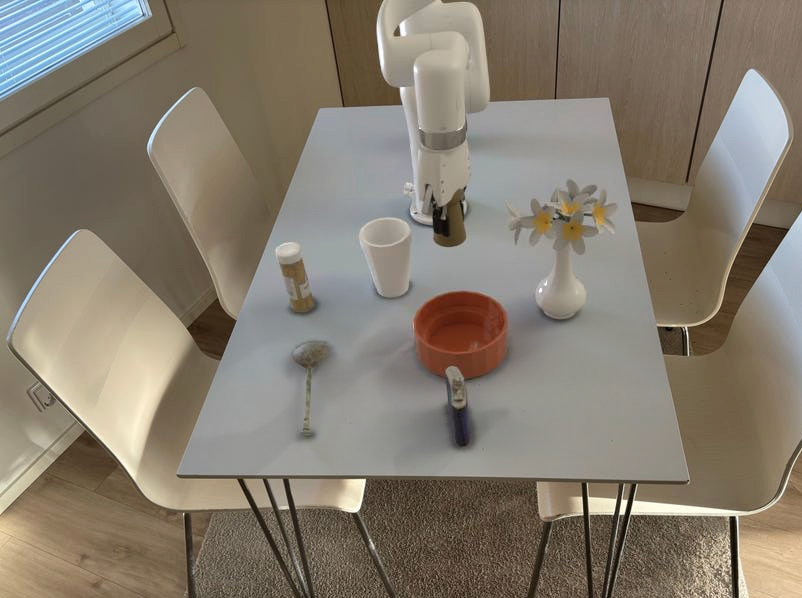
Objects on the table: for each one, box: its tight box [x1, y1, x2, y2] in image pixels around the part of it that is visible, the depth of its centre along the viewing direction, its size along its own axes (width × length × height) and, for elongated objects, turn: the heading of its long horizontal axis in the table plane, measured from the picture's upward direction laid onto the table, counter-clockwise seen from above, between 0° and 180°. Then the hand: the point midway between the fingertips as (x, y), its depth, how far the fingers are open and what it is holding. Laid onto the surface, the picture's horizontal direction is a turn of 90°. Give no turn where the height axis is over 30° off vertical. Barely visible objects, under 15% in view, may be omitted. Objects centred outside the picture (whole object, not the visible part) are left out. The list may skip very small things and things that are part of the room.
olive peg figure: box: [432, 188, 467, 248], centre depth 122 cm, size 6×6×11 cm
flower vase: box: [505, 178, 619, 320], centre depth 119 cm, size 13×18×25 cm
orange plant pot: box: [412, 290, 509, 379], centre depth 120 cm, size 16×16×6 cm
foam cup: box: [358, 216, 412, 299], centre depth 131 cm, size 10×9×13 cm
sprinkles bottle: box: [275, 241, 315, 314], centre depth 129 cm, size 5×5×14 cm
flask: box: [444, 366, 472, 448], centre depth 106 cm, size 9×3×11 cm, turn 8°
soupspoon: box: [291, 341, 330, 437], centre depth 117 cm, size 22×3×7 cm
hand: (449, 226), depth 124 cm, fingers closed on olive peg figure, 4 cm apart
